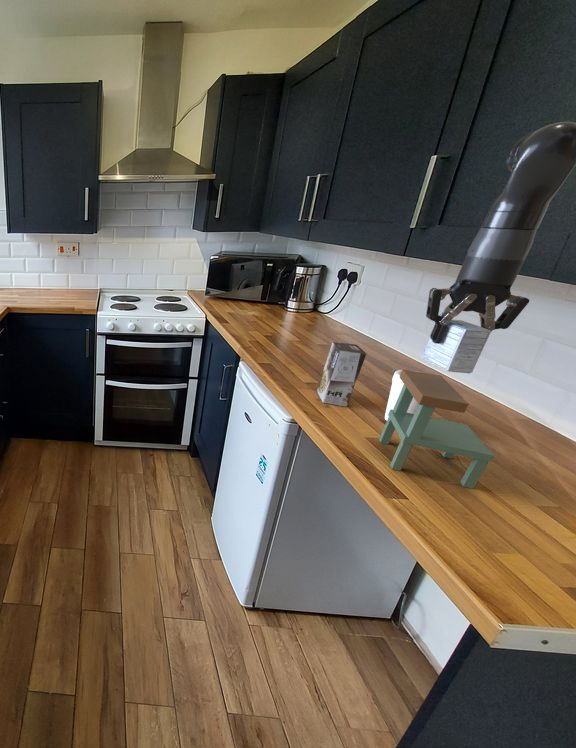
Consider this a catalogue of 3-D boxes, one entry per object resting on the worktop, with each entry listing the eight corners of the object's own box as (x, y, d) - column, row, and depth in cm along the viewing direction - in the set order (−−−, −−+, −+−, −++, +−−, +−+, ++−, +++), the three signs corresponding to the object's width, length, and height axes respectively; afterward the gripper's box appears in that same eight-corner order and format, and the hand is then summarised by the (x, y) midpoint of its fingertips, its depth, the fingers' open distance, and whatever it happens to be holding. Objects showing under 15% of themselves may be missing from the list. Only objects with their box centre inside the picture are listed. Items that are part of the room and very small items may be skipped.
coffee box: (347, 407, 113) (367, 353, 107) (322, 403, 115) (340, 350, 108) (339, 394, 121) (357, 344, 114) (315, 390, 123) (332, 340, 116)
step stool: (449, 453, 93) (485, 382, 86) (476, 492, 80) (522, 413, 72) (374, 436, 99) (402, 369, 91) (388, 471, 86) (422, 395, 78)
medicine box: (472, 374, 77) (493, 330, 73) (446, 372, 77) (466, 328, 74) (443, 360, 84) (462, 319, 80) (420, 358, 84) (437, 318, 81)
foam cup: (423, 434, 100) (445, 387, 95) (378, 423, 105) (397, 378, 100) (418, 419, 108) (438, 375, 102) (376, 410, 112) (394, 367, 107)
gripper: (452, 254, 72) (414, 344, 78) (563, 261, 66) (512, 357, 73) (438, 250, 78) (404, 334, 85) (538, 257, 72) (493, 346, 79)
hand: (454, 344), depth 79 cm, fingers closed on medicine box, 5 cm apart
